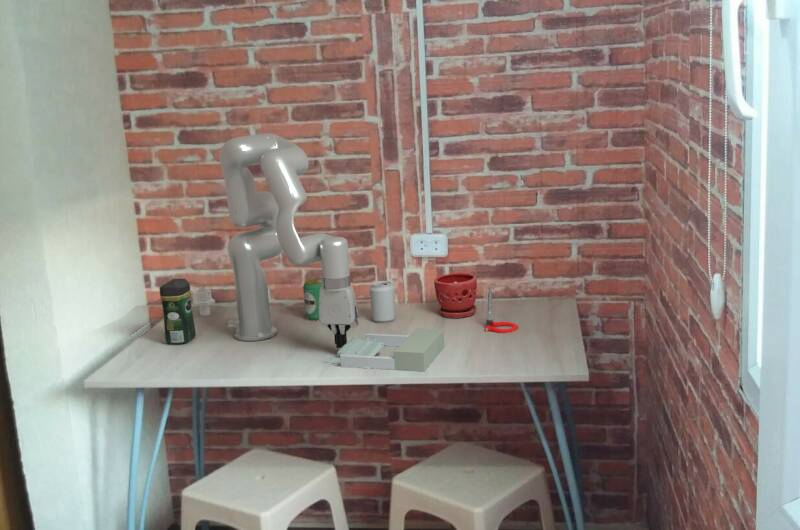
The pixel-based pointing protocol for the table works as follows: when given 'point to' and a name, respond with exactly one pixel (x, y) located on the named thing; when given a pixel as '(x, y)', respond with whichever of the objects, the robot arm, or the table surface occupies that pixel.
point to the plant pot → (456, 294)
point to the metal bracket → (356, 350)
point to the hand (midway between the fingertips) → (341, 346)
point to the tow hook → (491, 323)
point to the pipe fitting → (203, 301)
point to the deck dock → (402, 351)
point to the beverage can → (312, 298)
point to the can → (382, 302)
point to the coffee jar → (177, 311)
